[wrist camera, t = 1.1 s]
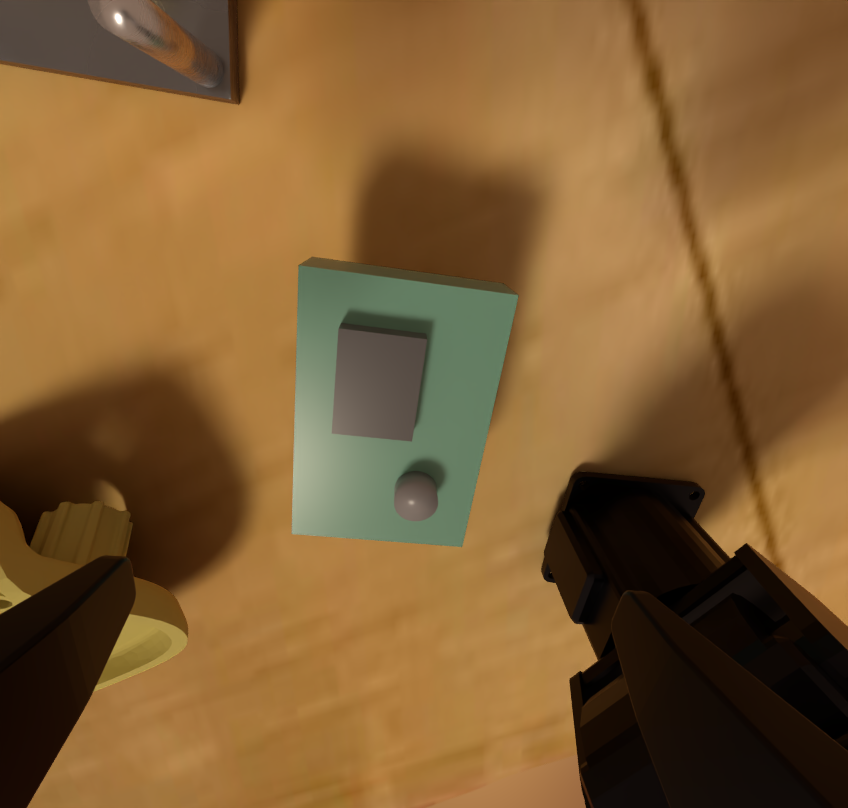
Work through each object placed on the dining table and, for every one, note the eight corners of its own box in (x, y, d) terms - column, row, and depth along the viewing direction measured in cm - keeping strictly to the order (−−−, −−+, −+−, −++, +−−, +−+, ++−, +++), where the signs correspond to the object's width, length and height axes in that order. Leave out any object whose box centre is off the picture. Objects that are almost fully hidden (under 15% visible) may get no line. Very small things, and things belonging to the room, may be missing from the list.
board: (503, 283, 14) (526, 301, 12) (455, 511, 18) (465, 563, 15) (312, 256, 14) (292, 268, 11) (303, 498, 17) (286, 550, 15)
